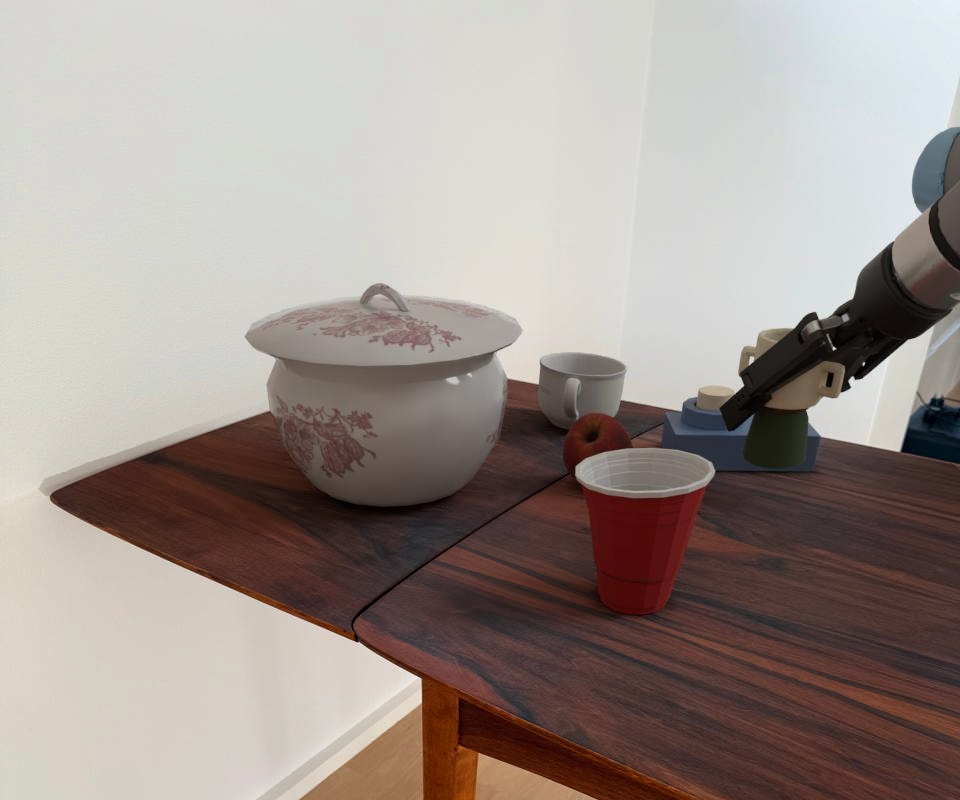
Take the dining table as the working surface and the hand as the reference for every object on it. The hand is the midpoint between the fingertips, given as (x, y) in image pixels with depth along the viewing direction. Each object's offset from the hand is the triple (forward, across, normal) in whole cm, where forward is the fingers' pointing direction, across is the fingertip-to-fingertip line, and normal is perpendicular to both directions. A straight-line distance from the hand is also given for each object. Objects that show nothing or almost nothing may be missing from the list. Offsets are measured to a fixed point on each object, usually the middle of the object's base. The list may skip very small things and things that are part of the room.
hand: (756, 414), depth 92 cm
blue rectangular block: (+10, +4, -1) cm, 11 cm away
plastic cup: (-5, -25, -17) cm, 31 cm away
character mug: (+1, 0, -6) cm, 6 cm away
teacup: (+23, -7, +12) cm, 27 cm away
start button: (+8, +2, +5) cm, 10 cm away
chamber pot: (+18, -34, +6) cm, 39 cm away
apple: (+11, -15, -1) cm, 18 cm away
